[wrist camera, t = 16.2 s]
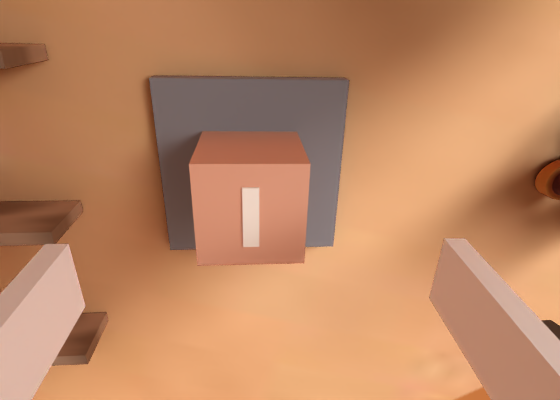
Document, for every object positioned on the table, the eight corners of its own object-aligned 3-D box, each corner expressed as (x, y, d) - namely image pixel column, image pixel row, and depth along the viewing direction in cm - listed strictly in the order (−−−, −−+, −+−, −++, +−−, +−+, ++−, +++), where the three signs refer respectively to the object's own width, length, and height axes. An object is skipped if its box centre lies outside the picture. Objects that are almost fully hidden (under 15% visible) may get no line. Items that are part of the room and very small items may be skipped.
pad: (345, 77, 22) (349, 80, 21) (330, 238, 27) (332, 246, 26) (153, 75, 21) (148, 78, 20) (172, 241, 26) (170, 249, 25)
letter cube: (296, 131, 22) (310, 164, 17) (293, 214, 25) (304, 264, 20) (202, 131, 22) (188, 165, 17) (207, 215, 24) (197, 267, 19)
